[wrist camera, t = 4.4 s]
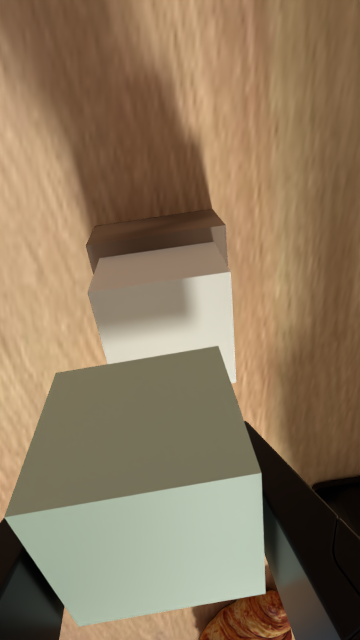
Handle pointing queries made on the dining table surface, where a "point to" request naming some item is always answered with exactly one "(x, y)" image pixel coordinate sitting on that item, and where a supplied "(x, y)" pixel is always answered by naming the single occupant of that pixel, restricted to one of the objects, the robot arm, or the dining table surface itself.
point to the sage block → (142, 489)
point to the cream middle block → (164, 303)
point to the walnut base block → (157, 235)
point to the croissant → (251, 620)
